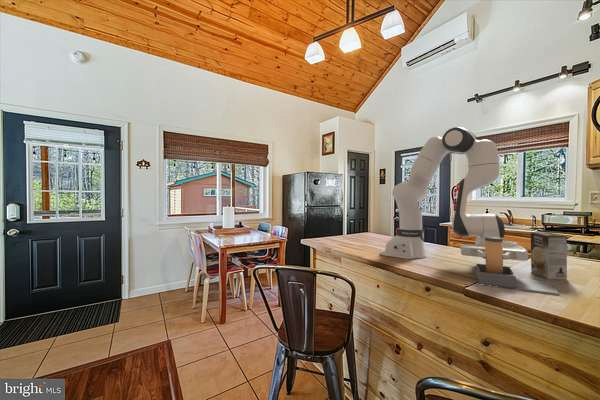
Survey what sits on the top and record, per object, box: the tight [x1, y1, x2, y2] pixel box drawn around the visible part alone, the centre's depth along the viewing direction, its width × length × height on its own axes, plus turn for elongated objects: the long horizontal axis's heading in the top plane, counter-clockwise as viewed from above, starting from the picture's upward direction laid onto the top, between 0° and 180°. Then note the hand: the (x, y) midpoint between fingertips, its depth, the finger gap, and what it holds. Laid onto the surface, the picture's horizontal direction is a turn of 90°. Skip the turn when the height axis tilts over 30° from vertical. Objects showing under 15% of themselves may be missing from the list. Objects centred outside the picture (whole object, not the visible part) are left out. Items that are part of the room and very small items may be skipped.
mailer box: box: [475, 263, 560, 296], centre depth 87 cm, size 20×12×4 cm, turn 57°
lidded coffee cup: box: [485, 237, 504, 274], centre depth 90 cm, size 5×5×14 cm
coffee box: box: [530, 231, 568, 280], centre depth 94 cm, size 9×6×16 cm
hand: (494, 256), depth 89 cm, fingers closed on lidded coffee cup, 5 cm apart
